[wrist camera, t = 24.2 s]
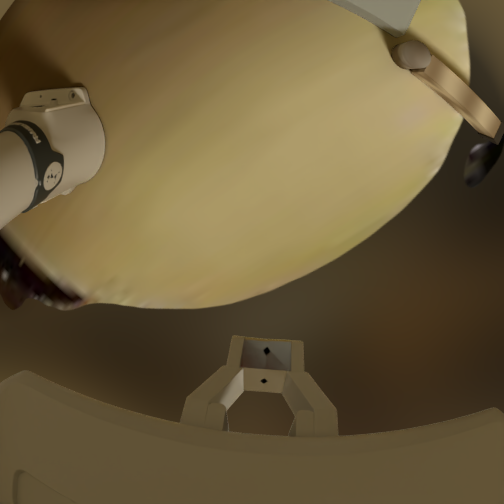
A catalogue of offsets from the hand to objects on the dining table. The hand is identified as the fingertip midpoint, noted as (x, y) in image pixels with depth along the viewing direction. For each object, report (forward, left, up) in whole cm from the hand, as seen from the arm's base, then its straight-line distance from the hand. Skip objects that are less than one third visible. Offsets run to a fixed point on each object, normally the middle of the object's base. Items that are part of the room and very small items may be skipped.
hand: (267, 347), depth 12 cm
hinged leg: (+16, +22, -29) cm, 40 cm away
